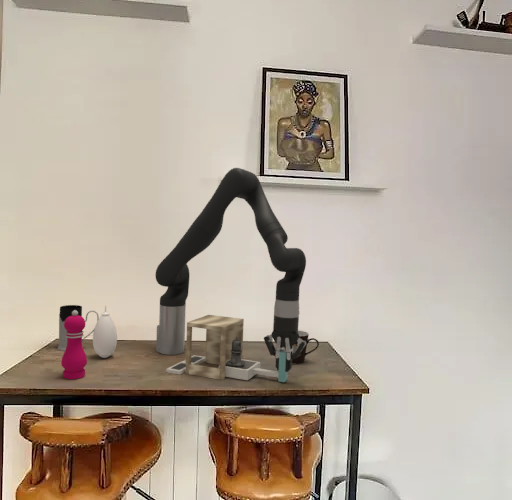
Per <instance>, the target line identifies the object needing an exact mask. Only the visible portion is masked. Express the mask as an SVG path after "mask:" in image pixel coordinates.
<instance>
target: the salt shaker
mask: <svg viewBox="0 0 512 500" xmlns="http://www.w3.org/2000/svg"><path fill="white" fill-rule="evenodd" d="M241 352H242V351H241V341H240V340H238V339H237V337H236V339H235V340H233V341H232V350H231V360H230V361H228V362H227V366H228V367H234V368H241V369H243V367H244V365H245V362H243V361H241Z"/></svg>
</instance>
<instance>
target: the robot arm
mask: <svg viewBox="0 0 512 500" xmlns="http://www.w3.org/2000/svg"><path fill="white" fill-rule="evenodd" d="M236 198H238V199H242V200H244V201H245V202H246V203H247V204H248V205H249V206H250V208H251V209H252V212H253V215H254V220H255V221H254V222H255V226H256V229H257V231H258V233H259V234H260V236H261V239H263V242H264V243H265V244H266V247H267V248H266V249H267V251H268V255H269V259H270V263H271V264H272V266H273V267H274V268H275V270H277V271H279V272H282V273H285V274H284V276H283V278H281V279H279V280H277V282H276V288H275V301H274V307H273V322H272V323H273V324H272V325H273V326H272V332H271V334H268V335H266V336H263V340H264V342H265V345H266V348H267V350H268V352H269V355H270V356H274V357H275V369H276V371H279V352H280V351H282V350H284V349H285V348H286V353H287V360H286V369H285V371H286V372H288V373H289V372H290V371H291V370H292V367H293V364H292V359H296V358H297V357H298V356H299V354H300V353H301V351H302V350H303V348H304V347H305V345H306V343H307V342H306V341H303V340H302V339H300V338H299V334H298V331H299V322H300V320H299V319H300V318H299V317H300V286H301V283H302V281H303V277H304V275H305V270H306V266H307V257H306V253H304V251H303V250H302V249H301V248H297V247H286V243H287V242H288V240H289V238H288V237H289V236H288V234H287V232H286V230H285V229H284V228H283V227H284V226H283V225H282V224H281V223H280V221H279V219H278V218H277V216H276V215H275V213H274V211H273V209H272V206H271V204H270V203H269V201H268V199H267V196H266V194H265V191H264V189H263V186H262V184H261V182H260V180H259V178H258V176H257V175H256V174H255V173H253V172H251V171H249V170H246V169H244V168H240V167H233V168H231V169H230V170H228V172H226V173H225V175H224V176H223V178H222V180H221V181H220V183H219V184H218V187H217V188H216V190H215V191H214V193H213V194H212V196H211V198H210V199H209V200H208V201H207V203H206V205H205V206H204V208H202V211H201V212H200V213H199V215H198V216H197V217H196V218H195V219H194V221H193V222H192V223H191V225H190V226H189V228H188V229H187V230H186V232H185V233H184V234H183V236H182V237H181V238H180V240H179V241H178V243H177V244H176V245H175V246H174V247H173V248H172V250H171V251H170V252H169V253H168V254H167V255H166V257H164V258H163V259H162V260H161V262H160V263H159V264H158V265H157V268H156V270H155V274H154V275H155V280H156V283H157V284H159V285H160V286H162V287H167V289H166V291H165V292H164V294H162V295H161V296H160V298H159V321H158V322H159V323H158V324H157V325H156V343H155V344H156V347H155V352H157V353H160V354H161V355H169V356H171V355H172V356H174V355H181V354H183V353H185V347H186V346H185V345H186V344H185V339H186V337H185V335H186V306H187V305H186V304H187V303H186V302H187V299H188V296H189V287H190V269H189V266H188V263H189V262H190V261H192V260H193V258H195V257H197V256H198V255H199V254H201V253H202V252H204V251H205V250H206V249H207V248H208V247H210V246H211V244H213V242H214V241H215V240H216V238H217V237H218V235H220V232H221V231H222V228H223V224H224V216H225V213H226V210H227V209H228V207H229V206H230V204H231V203H232V202H233V201H234V200H235V199H236ZM273 341H274V343H275V344H276V346H275V345H274V343H273ZM297 341H298V344H297V345H298V346H299V347H298V348H297V350H296V352H295V353H294V354H293V345H294V344H295V343H296V342H297Z"/></svg>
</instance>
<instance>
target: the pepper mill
mask: <svg viewBox="0 0 512 500" xmlns="http://www.w3.org/2000/svg"><path fill="white" fill-rule="evenodd" d="M85 320H86V319H84V317H83V316H82V317H81V316H79V315H78V311H76V310H74V311H72V316H69V317H68V318H66V320H65V322H64V328H65V329H66V330H67V332H66V337H67V347H66V350H65V351H63V352H64V353H63V355H62V357H61V362H60V363H61V366H62V368H63V369H64V370H62V377H64V378H63V379H65V378H67V379H66V380H79V379H82V378H84V377H86V369H85V367H86V365H87V364H88V358H87V357H88V356H87V355H86V351H85V349H84V346H82V345H83V343H82V339H83V338H84V331H83V330H84V329H85V327H86V322H85ZM78 378H79V379H78Z"/></svg>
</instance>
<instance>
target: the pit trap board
mask: <svg viewBox="0 0 512 500" xmlns="http://www.w3.org/2000/svg"><path fill="white" fill-rule="evenodd" d="M205 358H206V356H203V355H202V356H201V355H197V354H196V355H191V364H196V365H201V364H202V363H204V362H205ZM165 372H166V373H168V374H173V375H178V376H179V375H182V374H183V373H186V359H184V360H182V361H179V362H177V363H176V364H174V365H172V366H169V367H168V368H165Z"/></svg>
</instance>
